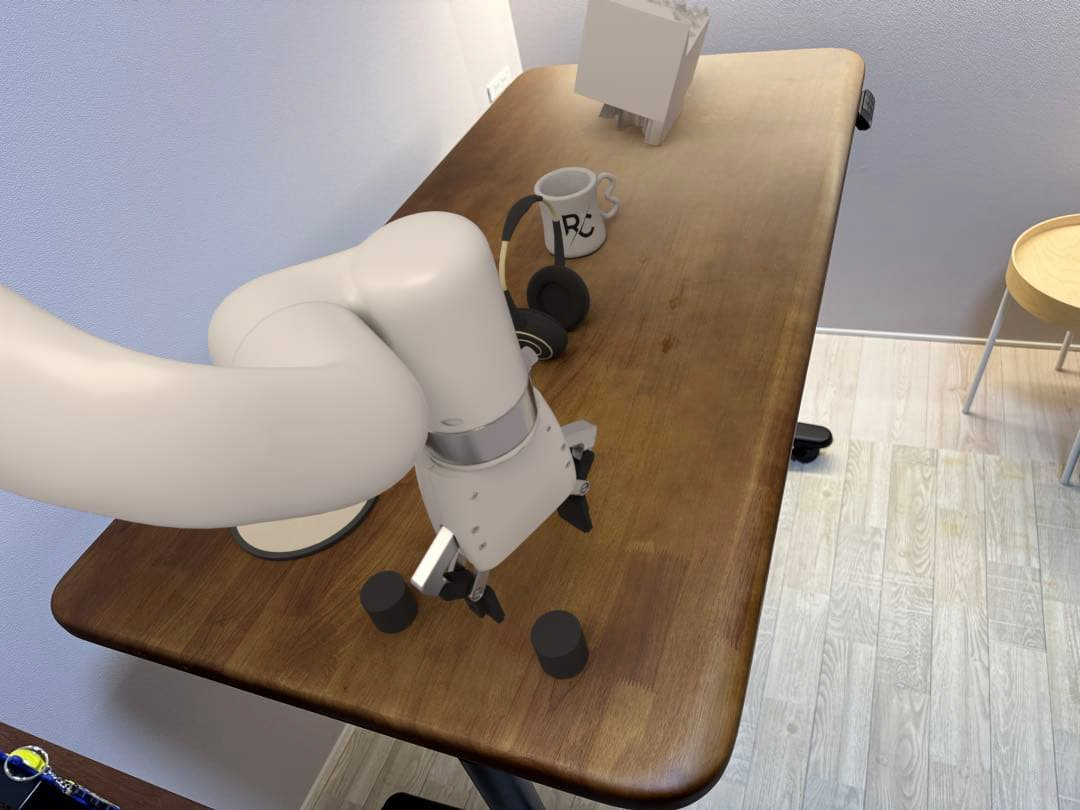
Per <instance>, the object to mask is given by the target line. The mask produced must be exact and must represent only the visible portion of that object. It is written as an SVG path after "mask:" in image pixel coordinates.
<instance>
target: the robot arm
mask: <svg viewBox="0 0 1080 810" xmlns="http://www.w3.org/2000/svg"><path fill="white" fill-rule="evenodd" d="M207 349H208V354H209V357H210V360H211V362H212V365H210V364H202V363H195V362H194V363H193V362H188V361H182V360H178V359H171V358H166V357H162V356H159V355H158V356H157V355H154V354H150V353H146V352H142V351H139V350H135V349H131V348H128V347H125V346H122V345H119V344H117V343H114V342H111V341H108V340H106V339H104V338H101V337H99V336H97V335H94V334H92V333H89V332H87V331H85V330H82V329H81V328H79V327H77V326H76V325H74V324H71V323H69V322H67V321H65V320H63V319H61V318H60V317H58V316H56V315H55V314H53V313H51V312H50V311H48V310H47V309H45V308H44V307H43V306H42V307H41V306H40V305H38V304H37V303H35V302H34V301H32V300H30V299H28V298H27V297H25V296H23V295H22V294H20V293H18V292H17V291H16V290H14V289H12V288H10V287H9V286H6V285H4V284H3V283H1V282H0V490H2V491H6V492H8V493H11V494H14V495H17V496H20V497H23V498H26V499H30V500H34V501H37V502H40V503H42V504H48V505H52V506H54V507H55V506H56V507H58V508H59V507H60V508H64V509H69V510H72V511H79V512H82V513H88V514H92V515H97V516H101V517H102V516H103V517H107V518H111V519H116V520H119V521H120V520H121V521H125V522H130V523H138V524H142V525H149V526H155V527H163V528H173V529H174V528H175V529H198V530H199V529H202V530H205V529H206V530H207V529H224V528H230V527H236V526H244V525H251V524H257V523H264V522H271V521H279V520H286V519H293V518H301V517H307V516H313V515H319V514H323V513H327V512H332V511H336V510H340V509H343V508H347V507H350V506H354V505H356V504H359V503H361V502H364V501H366V500H369V499H371V498H373V497H375V496H377V495H379V496H380V495H381V494H382V493H384V492H386V491H388V490H390V489H391V488H393V487H394V485H396V484H397V483H398V482H400V481H401V480H402V479H403V478H404V477H406V475H407V474H408V473H409V472H410V471H411V470H412V469H413V467H414V469H415V475H416V478H417V479H416V481H417V484H418V488H419V492H420V495H421V499H422V501H423V504H424V507H425V509H426V513H427V515H428V518H429V520H430V524H431V525H432V528H433V531H434V533H435V534H436V536H435V537H434V539H433V541H432V542H431V544H430V546H429V547H428V549H427V551H426V552H425V554H424V556H423V558H422V559H421V560H420V562H419V565H418V566H417V568H416V569H415V571H414V572H413V574H412V576H411V578H410V581H409V583H410V585H411V586H412V587H414V588H415V589H416V590H417V591H418V592H419V593H420V594H421V595H423V596H427V597H431V598H436V599H438V598H439V599H442V600H443V601H444V602H452V601H458V600H462V599H463V600H464V601H465V604H466V605H467V607H468V608H469V609H470V610H471V612H473V614H475V616H477V618H480V619H483V618H484V617H485V616H486V615H487V616H488V617H489V618H491V619H492V620H493V621H495V623H497V624H498V625H500V624H502V623H503V622H504V620H506V619H505V616H506V614H505V612H504V609H503V607H502V605H501V602H500V601H499V598H498V597H497V594H496V592H495V590H494V589H493V588H492V587H491V586H490V585H489V584H488V582H489V578H490V575H491V572H492V569H494V568H495V567H497V566H499V565H500V564H501V563H503V561H504V560H507V558H508V557H509V556H510V555H511V554H512V553H513V552H514V551H515V550H516V549H517V548H518V547H520V545H522V544H523V542H525V541H526V540H527V539H528V538H529V537H530V536H531V535H532V534H533V533H534V532H535V531H536V530H537V529H538V528H539V527H540V526H541V525H542V524H543V523H544V522H545V521H546V520H547V519H548V518H549V517H550V516H551V515H552V514H553V513H554V512H555V511H557V514H558V516H559V518H560V519H562V520H563V521H565V522H566V523H568V524H569V525H571V526H573V527H574V528H576V530H578V531H580V532H581V533H583V534H590V532H591V531H592V530H593V529H594V526H593V523H592V518H591V513H590V506H589V503H588V498H587V493H588V492H589V490H590V488H591V482H590V481H589V480H587V479H588V476H589V474H590V471H591V469H592V466H593V463H594V461H595V459H596V458H595V457H596V455H595V454H596V453H595V452H594V451H593V448H595V445H596V439H597V433H598V426H597V425H596V424H595V423H593V422H591V421H588V420H587V419H585V418H581V419H578V420H575V421H572V422H569V423H566V424H563V425H560V423H559V421H558V419H557V417H556V415H555V414H554V412H553V410H552V409H551V407H550V406H549V404H548V402H547V401H546V399H545V398H544V396H543V395H542V394H541V392H540V391H539V389H537V387H535V386H534V385H533V382H532V378H531V372H532V371H533V367H535V365H537V364H538V363H539V359H538V356H537V354H536V353H535V352H534V350H533V349H531V348H530V347H528V346H525V347H523V348H522V349H520V345H519V342H518V339H517V335H516V332H515V329H514V325H513V322H512V318H511V315H510V312H509V308H508V305H507V302H506V298H505V295H504V291H503V288H502V285H501V281H500V278H499V270H498V268H497V265H496V261H495V258H494V255H493V252H492V248H491V246H490V244H489V241H488V239H487V237H486V235H485V234H484V232H483V231H482V230H481V229H480V227H479V226H478V225H476V224H475V222H473V221H472V220H470V219H468V218H467V217H465V216H463V215H460V214H457V213H453V212H450V211H449V212H448V211H440V210H438V211H437V210H433V211H424V212H418V213H413V214H409V215H406V216H403V217H399V218H397V219H394V220H393V221H390V222H388V223H387V224H386V223H385V225H383V226H381V227H379V228H378V229H376V230H375V231H374V232H372V233H371V234H370V235H369V236H368V237H366V239H365V240H363V241H362V242H361V243H360V244H357V245H355V246H352V247H350V248H347V249H344V250H340V251H338V252H335V253H332V254H328V255H325V256H321V257H319V258H315V259H312V260H309V261H304V262H301V263H298V264H295V265H291V266H287V267H284V268H280V269H278V270H275V271H271V272H268V273H266V274H263V275H261V276H258V277H256V278H254V279H251V280H249V281H248V282H246V283H243V284H242V285H240V286H239V287H237V288H236V289H234V290H233V291H232V292H230V293H229V294H228V295H227V296H226V297H225V298H224V299H223V300H222V301H221V302H220V303H219V304H218V306H217V307H216V309H215V311H214V313H213V314H212V317H211V320H210V321H209V324H208V329H207ZM468 563H470V564H472V565H473V570H472V571H471V570H470V569H468V568H467V566H468Z"/></svg>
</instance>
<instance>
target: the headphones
mask: <svg viewBox="0 0 1080 810" xmlns="http://www.w3.org/2000/svg"><path fill="white" fill-rule="evenodd" d="M540 201H541V202H543V203H544V204H545V205H546V206H547V207H548V208H549V210H550V212H551V214H552V218H553V220H552V223H553V231H554V254H553V258H554V260H553V261H554V263H553V264H551V265H546V266H544V267H541V268H540V269H538V270H537V271H535V273H533V274H532V276H531V277H530V278H529V281H528V283H527V286H526V292H525V293H526V295H525V296H526V302H527V307H518V306H517V305H516V304H515V302H514V300H513V298H512V295H511V292H510V290H509V288H508V286H507V282H506V259H507V252H508V251H507V250H508V247H509V246H508V245H509V243H510V242H511V240H512V236H513V234H514V232H515V230H516V228H517V226H518V225H519V223H520V221H521V220H522V218H523V217H524V216H525V214H527V212H529V210H530V209H531V207H532V206H533V204H535V203H538V202H540ZM500 241H501V247H500V254H499V260H498V261H499V262H498V263H499V264H498V275H499V278H500V281H501V285H502V288H503V291H504V295H505V298H506V302H507V305H508V308H509V312H510V315H511V318H512V322H513V325H514V329H515V332H516V335H517V339H518V342H519V345H520V349H522V348H523V347H525V346H528V347H530V348H531V349H533V350H534V352H535V353H536V354H537V356H538V360H541V361H542V360H548V359H553V358H555V357H558V356H560V355H562V354H563V353H564V352H565V350H566V348H567V346H568V344H569V335H568V331H570V330H572V329H575V328H576V327H578V326H579V325H580V324H582V322H583V321H584V320H585V318H586V317H587V315H588V313H589V310H590V307H591V306H590V305H591V297H590V292H589V289H588V286H587V284H586V282H585V280H584V279H583V278H582V277H581V276H580V275H579V273H577V272H576V271H575V270H573V269H572V268H570V267H568V266H566V258H565V257H564V246H563V238H562V231H561V225H560V220H559V219H558V216H557V213H556V211H555V209H554V207H553V206H552V204H551V203H550V202H549V201H547V200H546V199H544V198H543V197H542V196H539V195H535V193H534V194H529V195H526V196H523V197H521V198H519V199H518V200H517V201H516V202H515V203H513V205H512V206H511V207H510V209H509V211H508V212H507V215H506V217H505V221H504V223H503V228H502V233H501V240H500Z"/></svg>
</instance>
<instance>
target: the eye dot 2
mask: <svg viewBox="0 0 1080 810" xmlns="http://www.w3.org/2000/svg"><path fill="white" fill-rule="evenodd" d="M530 642H531V645H532V648H533V650H534V652H535V654H536V658H537V659H538V662H539V664H540V667H541V669H542V670H543V672H544V673H546V675H547V676H549V677H551V678H554V679H556V680H557V679H558V680H567V679H571V678H573V677H575V676H577V675H579V674H580V673H581V672H582V671H583V670H584V668H585V666H586V665H587V663H588V661H589V655H590V654H589V648H588V644H587V641H586V638H585V635H584V631H583V628H582V624H581V622H580V621H579V618H578V617H577V616H576V615H574V614H573V613H571V612H570V611H567V610H562V609H554V610H549V611H546V612H545V613H542V615H540V616H539V617H538V618H537V619H535V622H534V623H533V624H532V627H531V630H530Z"/></svg>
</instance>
